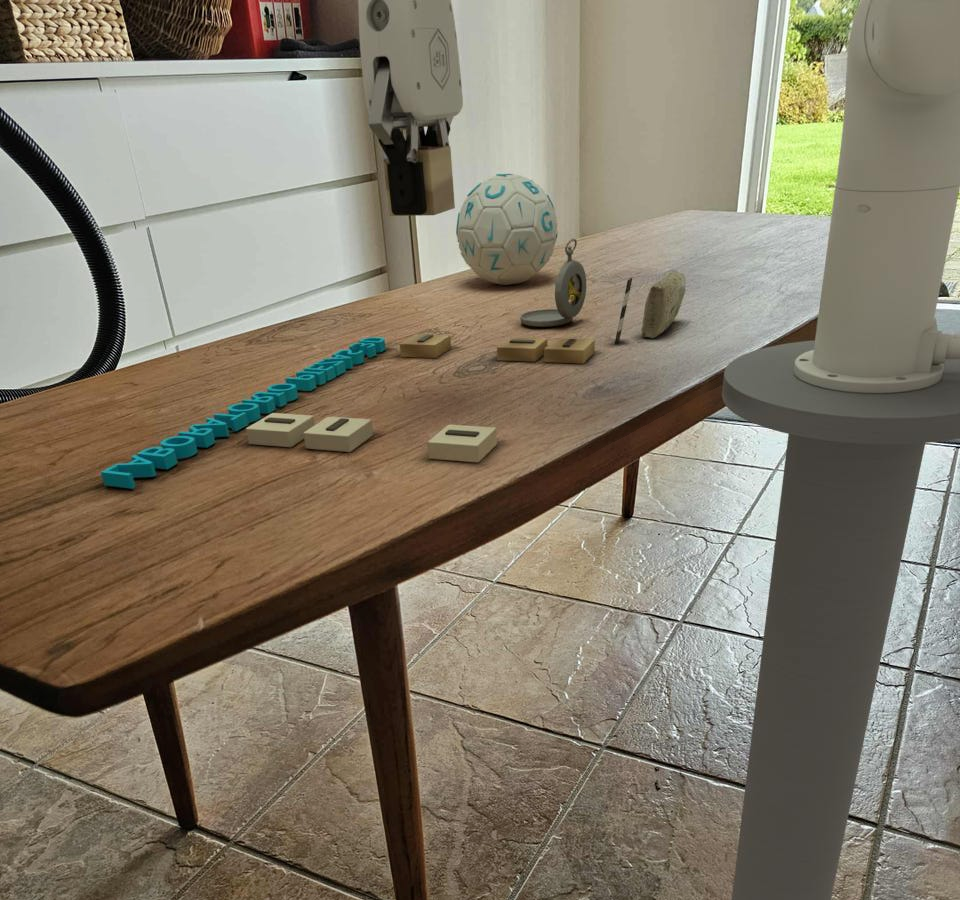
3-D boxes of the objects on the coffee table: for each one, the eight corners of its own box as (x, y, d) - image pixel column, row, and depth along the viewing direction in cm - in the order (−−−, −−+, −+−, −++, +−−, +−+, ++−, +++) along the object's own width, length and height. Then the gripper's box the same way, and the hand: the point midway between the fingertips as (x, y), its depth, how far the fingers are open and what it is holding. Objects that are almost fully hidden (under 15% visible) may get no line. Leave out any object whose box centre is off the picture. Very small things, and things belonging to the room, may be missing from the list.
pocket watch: (519, 318, 117) (516, 235, 112) (584, 314, 117) (584, 231, 111) (521, 334, 110) (518, 246, 105) (590, 329, 110) (590, 241, 104)
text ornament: (132, 488, 73) (128, 475, 73) (104, 485, 74) (100, 472, 74) (389, 347, 108) (388, 337, 107) (368, 346, 109) (366, 336, 108)
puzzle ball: (498, 271, 147) (493, 168, 139) (577, 277, 139) (576, 168, 131) (440, 289, 137) (431, 180, 129) (521, 296, 129) (517, 180, 121)
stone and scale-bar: (614, 344, 103) (642, 318, 112) (651, 353, 102) (677, 327, 111) (627, 280, 99) (655, 259, 108) (666, 289, 98) (692, 267, 107)
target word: (497, 444, 77) (496, 425, 76) (478, 462, 74) (477, 443, 73) (275, 428, 85) (272, 410, 84) (248, 444, 81) (244, 426, 81)
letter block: (455, 208, 82) (450, 144, 79) (434, 215, 78) (428, 148, 76) (411, 209, 83) (405, 146, 81) (388, 216, 80) (381, 151, 77)
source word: (594, 353, 100) (594, 337, 100) (583, 363, 97) (583, 347, 96) (417, 346, 108) (415, 332, 107) (400, 356, 104) (399, 341, 104)
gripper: (393, -59, 63) (419, 223, 73) (484, -41, 76) (495, 197, 86) (302, -46, 66) (339, 225, 76) (405, -31, 79) (425, 199, 89)
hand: (422, 207), depth 81 cm, fingers closed on letter block, 4 cm apart
